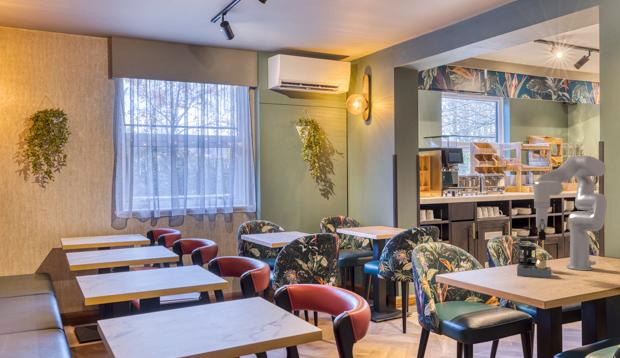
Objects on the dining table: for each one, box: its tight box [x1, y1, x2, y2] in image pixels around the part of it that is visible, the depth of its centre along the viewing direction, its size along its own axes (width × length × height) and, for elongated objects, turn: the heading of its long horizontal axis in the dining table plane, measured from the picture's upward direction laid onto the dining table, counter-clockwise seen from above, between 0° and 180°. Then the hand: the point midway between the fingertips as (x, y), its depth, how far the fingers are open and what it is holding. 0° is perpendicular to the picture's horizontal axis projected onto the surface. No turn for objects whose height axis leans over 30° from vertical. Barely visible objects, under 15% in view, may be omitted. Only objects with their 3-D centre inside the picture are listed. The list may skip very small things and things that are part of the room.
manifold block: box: [516, 264, 552, 279], centre depth 268 cm, size 16×10×4 cm, turn 67°
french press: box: [518, 226, 537, 266], centre depth 287 cm, size 12×9×23 cm
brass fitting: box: [536, 259, 547, 269], centre depth 267 cm, size 4×4×8 cm
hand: (542, 238), depth 267 cm, fingers open, 9 cm apart
